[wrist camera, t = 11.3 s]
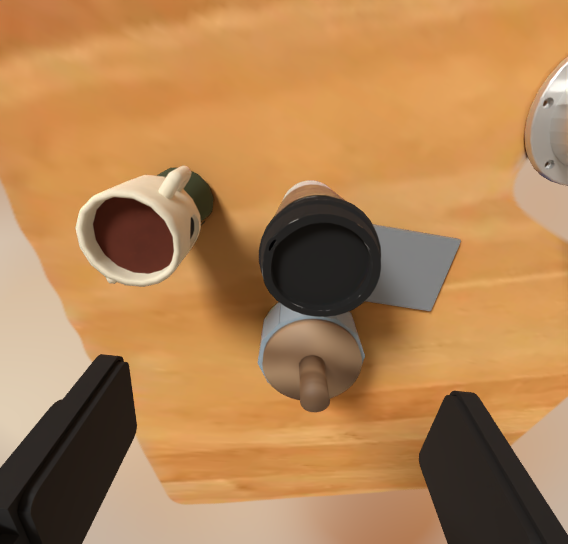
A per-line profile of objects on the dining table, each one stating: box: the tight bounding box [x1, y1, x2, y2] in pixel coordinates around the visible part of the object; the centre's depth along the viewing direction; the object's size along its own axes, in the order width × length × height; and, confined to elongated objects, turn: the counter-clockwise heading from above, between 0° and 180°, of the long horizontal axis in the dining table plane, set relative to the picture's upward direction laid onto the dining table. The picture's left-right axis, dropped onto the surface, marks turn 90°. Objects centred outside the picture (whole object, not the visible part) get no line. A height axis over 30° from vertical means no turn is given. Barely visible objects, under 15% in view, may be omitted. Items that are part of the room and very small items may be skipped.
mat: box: [365, 225, 461, 311], centre depth 37 cm, size 11×9×1 cm
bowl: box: [258, 302, 365, 384], centre depth 39 cm, size 12×12×5 cm
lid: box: [262, 319, 362, 412], centre depth 34 cm, size 11×11×6 cm
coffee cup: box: [259, 181, 381, 317], centre depth 27 cm, size 8×8×15 cm
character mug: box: [76, 166, 213, 287], centre depth 28 cm, size 11×7×13 cm, turn 141°
